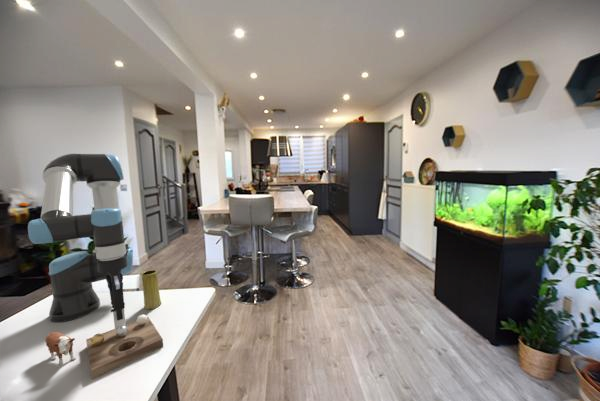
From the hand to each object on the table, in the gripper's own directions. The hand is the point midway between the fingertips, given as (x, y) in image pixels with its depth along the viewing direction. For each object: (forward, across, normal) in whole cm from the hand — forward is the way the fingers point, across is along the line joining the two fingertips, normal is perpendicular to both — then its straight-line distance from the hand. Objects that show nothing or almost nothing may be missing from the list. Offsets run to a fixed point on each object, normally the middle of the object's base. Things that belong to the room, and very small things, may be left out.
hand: (120, 327), depth 80 cm
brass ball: (0, +2, -6) cm, 6 cm away
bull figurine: (+5, -2, -14) cm, 15 cm away
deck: (+4, +5, 0) cm, 6 cm away
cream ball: (0, 0, +6) cm, 6 cm away
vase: (+4, -17, +13) cm, 22 cm away
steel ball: (0, +3, 0) cm, 3 cm away
